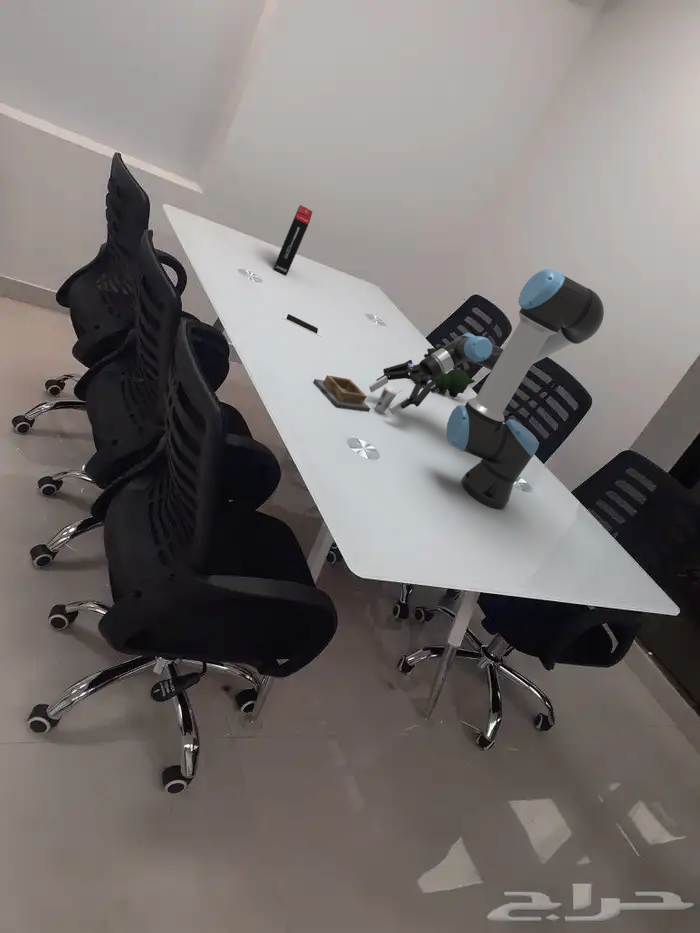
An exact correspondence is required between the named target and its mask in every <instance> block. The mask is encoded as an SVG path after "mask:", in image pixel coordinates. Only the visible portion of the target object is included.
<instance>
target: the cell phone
mask: <svg viewBox="0 0 700 933" xmlns="http://www.w3.org/2000/svg"><path fill="white" fill-rule="evenodd" d="M282 319H283V320H285V321H287V322H290V323H291V324H293V325H295V326H298V327H299V328H302V329H303V330H305V331H308V332H309V333H312V334H314V335H316V336H318V337H320V338H322V337H323V333H324V330H323V329H321V328H320V327H317V326H314V325H313V324H311V323H309V322H307V321H305V320H303V319H300V318H298V317H296V316H294V315H292V314H290V313H288V312H283V314H282Z"/></svg>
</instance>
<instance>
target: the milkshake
mask: <svg viewBox="0 0 700 933" xmlns="http://www.w3.org/2000/svg"><path fill="white" fill-rule="evenodd" d="M402 390H403V389H401V390H400V391H398V390H397V389H396V388H395V387H394V386H392V385H389V384H388V385H387V384H386V385H384V386H383V390H382V392H381V394H380V396H379V398H378V401H377V403H376V404H375V407H374V410H375V412H377V413H379V414H382V415H383V414H385V412H386V411H387V409H388V408H389V406H391V403H392V402H393V400H394V399H395V398H396V396H397V395H398V393H400V392H401V391H402Z"/></svg>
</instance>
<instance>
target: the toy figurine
mask: <svg viewBox="0 0 700 933" xmlns="http://www.w3.org/2000/svg"><path fill="white" fill-rule="evenodd" d="M444 346H445V344H444V345H443V344H442V345H438V346H437V347H436V348H435V347H431V348H429V347H428V348H427V349H426V351H427V353H424V355H423V357H424V359H425V358H426V357H428V356H431V354H433V353H434V352H436V351H438V350H439V349H441V348H443V347H444ZM433 381H435V389H433V390H431V391H430V392H432V393H435V392H436V391H437V390H439V392H440V394H441V395H446V394H447V392H448V395H449V396H450V397H451V398H457V397H458V395H459V394H464V393H465V391H466V390H467V388H468V386H469V385H470V384H473V383H475V382H476V380H474V379H473V378H471V377H469V375H468V373H467V372H466V371H465V370H463V369H461V368H452V369H451V370H449V371H448V372H446V373H445V374H442V375H441V376H440V377H438V378H437V379H435V380H433ZM426 385H427V384H423V386H422V387H425V386H426Z"/></svg>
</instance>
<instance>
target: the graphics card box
mask: <svg viewBox="0 0 700 933" xmlns="http://www.w3.org/2000/svg"><path fill="white" fill-rule="evenodd" d="M312 215H313V211H312V210H310V209H309V208H307V207H306V206H304V205H302V204H300V205H299V206H298V208H297V210H296V212H295V215H294V217H293V220H292V222H291V224H290V226H289V229H288V232H287V233H286V237H285V239H284V240H283V243H282V245H281V249H280V251H279V253H278V257H277V259H276V261H275V264H274V266H273V270H274V271H275V272H278V273H280V274H282V275H284V276H287V275H288V273H289V272H290V268H291V266H292V264H293V261H294V259H295V257H296V254H297V252H298V250H299V247H300V245H301V244H302V241H303V238H304V237H305V233H306V232H307V229H308V227H309V224H310V223H311V222H310V221H311V219H312Z"/></svg>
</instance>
